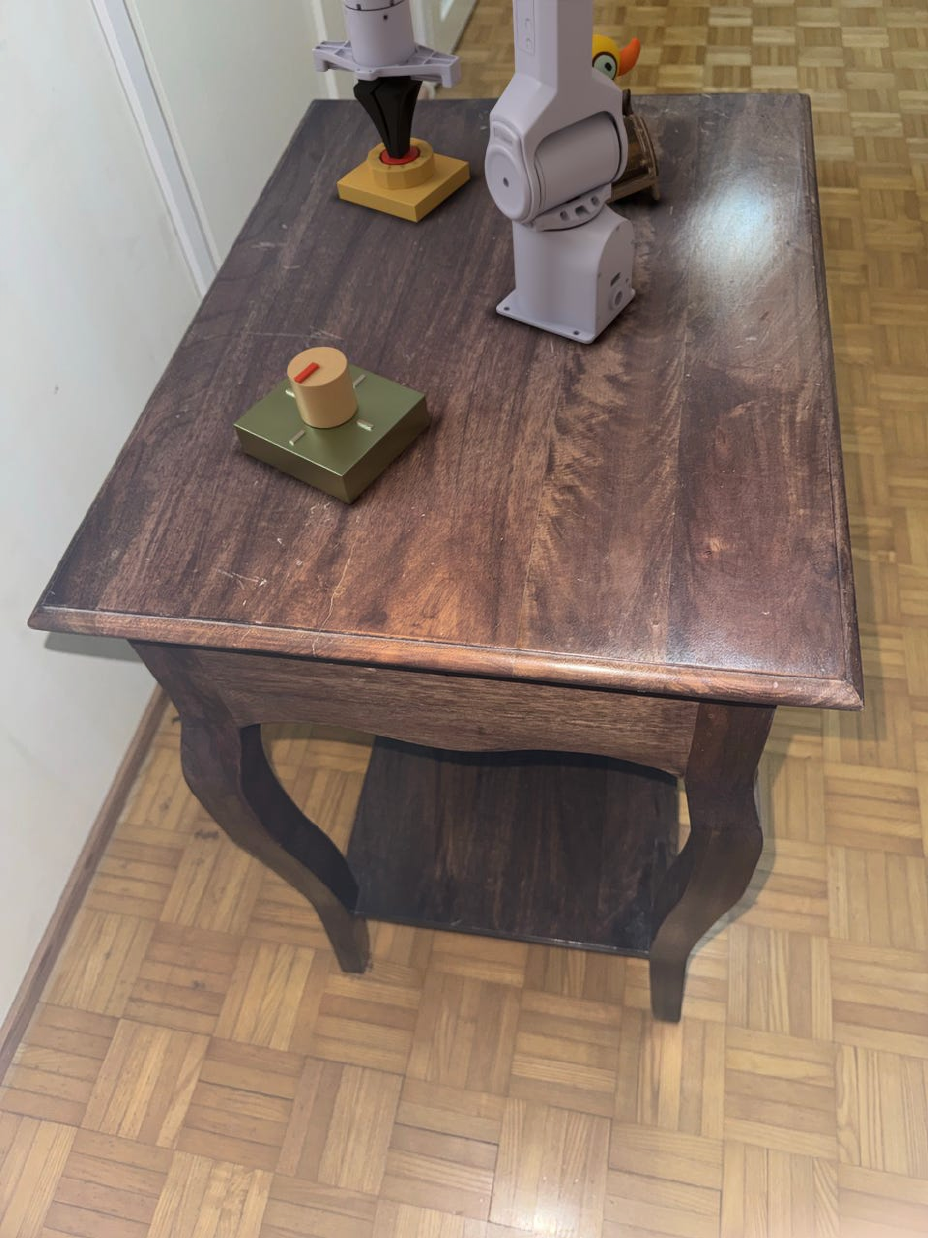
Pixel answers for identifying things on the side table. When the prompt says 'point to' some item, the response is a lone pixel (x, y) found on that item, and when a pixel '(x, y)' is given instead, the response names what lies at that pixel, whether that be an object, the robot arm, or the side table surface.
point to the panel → (336, 435)
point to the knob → (322, 387)
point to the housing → (404, 182)
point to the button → (408, 158)
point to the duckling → (613, 56)
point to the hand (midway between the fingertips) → (399, 153)
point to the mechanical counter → (637, 162)
